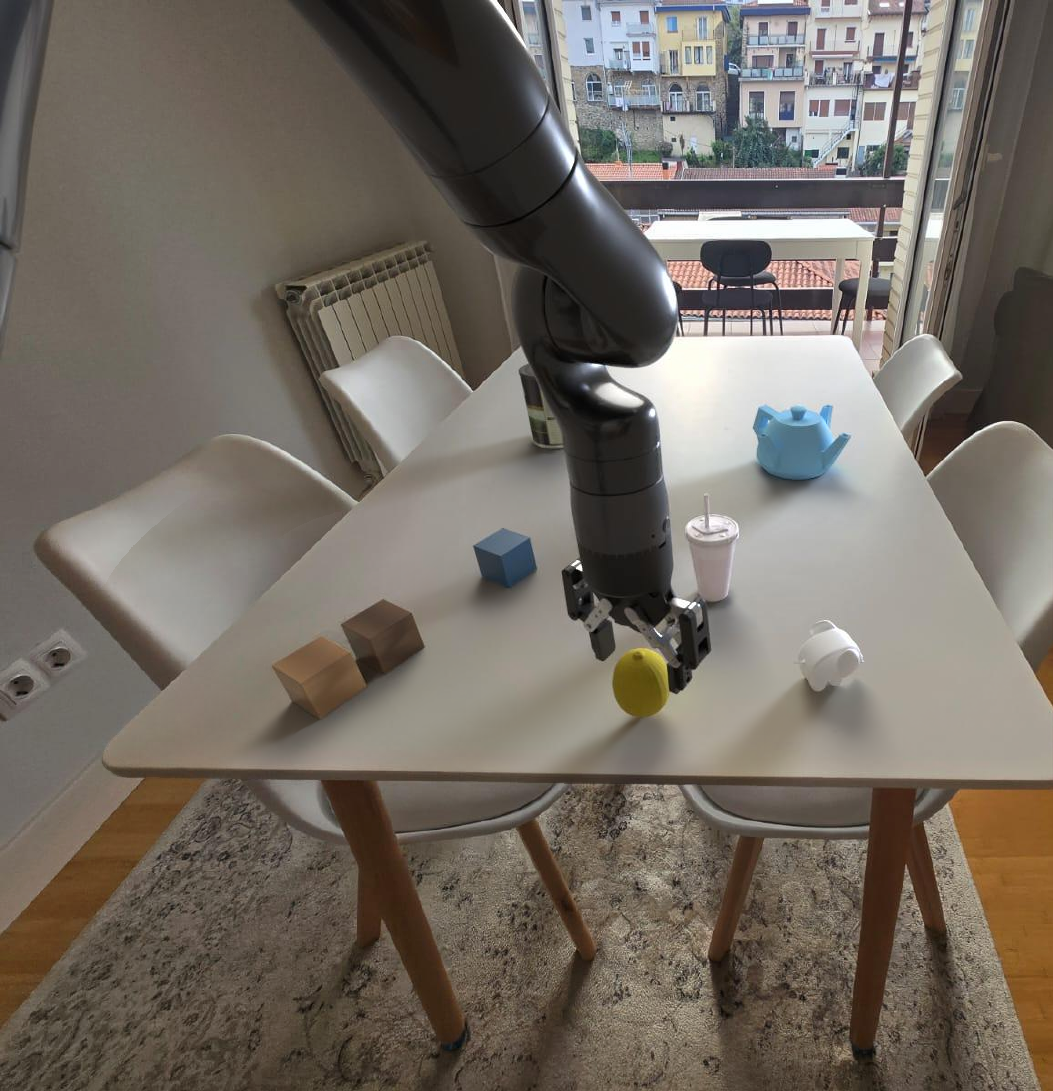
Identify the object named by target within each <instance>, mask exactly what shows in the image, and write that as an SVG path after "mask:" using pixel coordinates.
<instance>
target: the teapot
mask: <svg viewBox="0 0 1053 1091" xmlns="http://www.w3.org/2000/svg"><path fill="white" fill-rule="evenodd" d="M833 408H834V406H833V405H830V404H825V405H823V406H822V408H821V410H820V412H819V413H818V412H815V411H812V410H809V409H808V407H806V406H804V405H799V404H798V405H793V406H790V408H789V409H785V410H781V411H777V410H775V409H774V408H772V407H771V406H769V405H767V404H764V405H761V406H758V408H757V412H756V415H755V417H754V418H755V419H754V421H753V426H752V430H753V432H754V433H755V435H756V439H757V446H756V453H755V454H756V459H757V461H758V464H760V466H761V467H762V468H763V469H764V470H765V471H766V472H767V473H768V474H770V475H772V476H774V477H777V478H780V479H784V480H793V481H794V480H795V481H801V480H810V479H813V478H814V479H815V478H818V477H820V476H822V475H823V474H825V473H826V472H827V471H828V470H829V469H831V467H832V466H833V465H834V464H835V462H836V461H837V459H838V458H839V456H840V455H841V454H842V452H843V450H844V449H845V447H846V445H847V444H848V443H849V441H850V439H851V438H852V435H850V434H848V433H845V432H841V433H840V434H839V435H838V436H837V437H836V438H835V439H834V435H833V433H832V432H831V430H830V429H831V422H832V415H833Z"/></svg>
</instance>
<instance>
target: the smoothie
mask: <svg viewBox="0 0 1053 1091" xmlns="http://www.w3.org/2000/svg"><path fill="white" fill-rule="evenodd" d="M703 511H704V512H703V513H704V514H703V515H699V516H696V517H694V518H692V519H691V520H689V521H688V522H687V524H686V525H685V527H684V528H685V529H684V531H685V534H684V537H685V539H686V541H687V542H688V544H689V550H690V555H691V560H692V565H693V571H694V576H695V582H696V585H697V590H698V595H699V597H700V598H702V599H703V600H704V601H705V602H713V603H714V602H715V603H716V602H719V601H723V600H725V598H727V596H728V594H729V589H730V581H731V575H732V568H733V561H734V554H735V547H736V541H737V540H738V539H739V537H740V531H739V525H738V523H737V522H736V521H735V520H734V519H732V518H731V517H729V516H726V515H722V514H710V495H709V493H703Z"/></svg>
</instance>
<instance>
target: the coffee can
mask: <svg viewBox="0 0 1053 1091" xmlns="http://www.w3.org/2000/svg"><path fill="white" fill-rule="evenodd" d="M518 375H519V377H520V382H521V386H522V392H523V397H524V403H525V406H526V411H527V417H528V422H529V426H530V431H531V436H532V443H533V444H534V445H535V446H536V447H538V448H541V449H548V450H558V449H564V448H563V440H562V434H561V431H560V428H559V426H558V424H557V422H556V420H555V418H554V416H553V414H552V412H551V410H550V408H549V406H548V404H547V402H546V400H545V398H544V395H543V393H542V391H541V389H540V387H539V384H538V382H537V380H536V378H535V376H534V374H533V372H532V370H531V367H530V365H529V363H527V364H524V365H522V366H521V367H519V368H518Z"/></svg>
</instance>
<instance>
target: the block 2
mask: <svg viewBox="0 0 1053 1091" xmlns="http://www.w3.org/2000/svg"><path fill="white" fill-rule="evenodd" d="M340 627H341V629H342V632H343V633H344V635H345V637H346V640H347V642H348V644H349V646H350V648H351V650H352V653H353V654H354V657H355V659H357V660H358V661H360V662H361V663H364V664H365V665H367V666H368V667H371V668H372V669H374V670H376V671H378V672H379V673H381V674H383V675H387V674H388V673H390V672H391V671H393V669H395V668H397V667H398V666H399V665H401V664H402V663H404V662H405V661H407V660H408V659H410V658H411V657H412V656H414V655H415V654H416V653H418V652H420V651H421V650H422V649H424V648H425V647H426V646H425V643H424V641H423V639H422V636H421V633H420V630H419V628H418V625H417V622H416V620H415V617H414V615H413V613H412V612H411V611H409V610H407V609H405V608H403V607H401V606H399V605H396V604H394V603H393V602H390V601H388V600H387V599H384V598H383V599H381V600H379V601H377V602H375V603H374V604H372V605H370V606H369V607H367V608H365V609H363V610H362V611H361V612H358V613H357V614H355V615H353V616H352V617H350V618H348V619H346V620H345V621H343V622H342V623H341V624H340Z"/></svg>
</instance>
